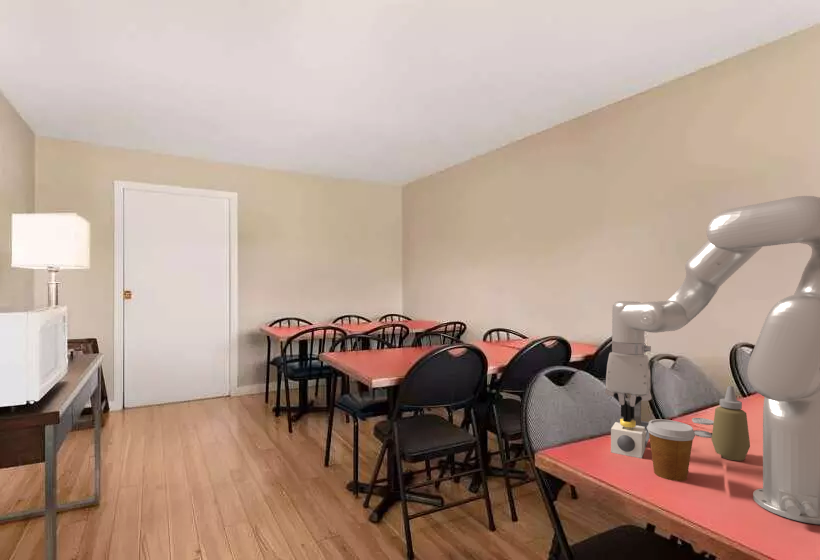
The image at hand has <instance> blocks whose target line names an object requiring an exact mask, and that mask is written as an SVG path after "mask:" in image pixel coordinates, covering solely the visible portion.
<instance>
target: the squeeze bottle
mask: <svg viewBox="0 0 820 560" xmlns="http://www.w3.org/2000/svg"><path fill="white" fill-rule="evenodd" d="M736 395H737V394H736V392H735V388H734V386H732V385H728V386H727V388H726V391H725V397H724V398H720V399H719V406H717V407H716V408H715V410H714V417H713V421H714V424H713V425H712V432H711V433H712V438H711V442H712V443H711V444H712V445H713V448H714V451H715V453H716V454H718V455H720V456H721V458H723V459H726V460H732V461H739V462H740V461H744V460H745V459H746V457H747V454H748V452H749V450H750V447H751V442H750V433H749V426H748V416H747V412H746V411H744V410H743V409H742V408H743V404H742V401H741V400H737V396H736Z"/></svg>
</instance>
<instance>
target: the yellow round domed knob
mask: <svg viewBox="0 0 820 560" xmlns="http://www.w3.org/2000/svg"><path fill="white" fill-rule="evenodd" d="M619 423H620V425H622V426H624V429H627V430H631V427H636V421H635V420H631V422H628V421H623V418H619Z"/></svg>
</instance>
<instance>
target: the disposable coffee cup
mask: <svg viewBox="0 0 820 560" xmlns="http://www.w3.org/2000/svg"><path fill="white" fill-rule="evenodd" d="M648 422H649V424H648V426H647V430H648V432H649V442H650V443H649V445H650V450H651V451H650V452H651V459H652V466H653V473H654V474H655V475H656V476H658V477H660V478H661V479H665V480H669V481H673V482H684V481H686V480H687V479H688V475H689V467H690V461H691V454H692V448H693V441H694V439H695V437H696V435H695V433H694V428H693V427H692V425H689V424H688V423H684V422H682V421H681V422H680V421H677V420H671V419H651V420H649V421H648Z"/></svg>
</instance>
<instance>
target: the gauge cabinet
mask: <svg viewBox="0 0 820 560" xmlns="http://www.w3.org/2000/svg"><path fill="white" fill-rule="evenodd" d="M645 450H646V448H645V427H643V426H637V425H636V427H631V430H627V429H624V426H622V425H620V422H617V421H615V422H614V424H613V425H612V426H611V428H610V453H611V452H612V454H616V453H617V454H616V455H621V454H622V456H626V455H627V456H626V457H631V456H632V457H631V458H636V457H637V459H641V458H642V459H643V456H644V454H643V453H645Z"/></svg>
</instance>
